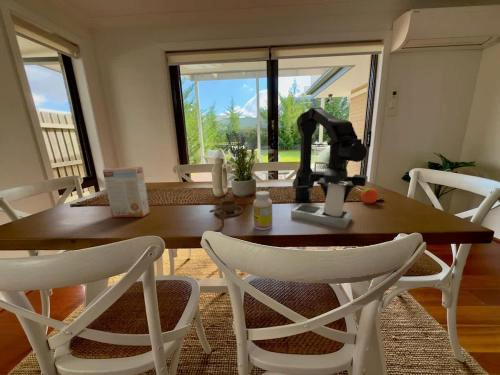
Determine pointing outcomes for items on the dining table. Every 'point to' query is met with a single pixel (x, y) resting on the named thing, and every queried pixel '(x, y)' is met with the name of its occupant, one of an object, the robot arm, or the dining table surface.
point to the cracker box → (126, 191)
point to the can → (335, 199)
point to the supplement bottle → (262, 211)
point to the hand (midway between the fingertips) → (335, 201)
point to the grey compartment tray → (320, 215)
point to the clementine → (369, 195)
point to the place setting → (227, 210)
